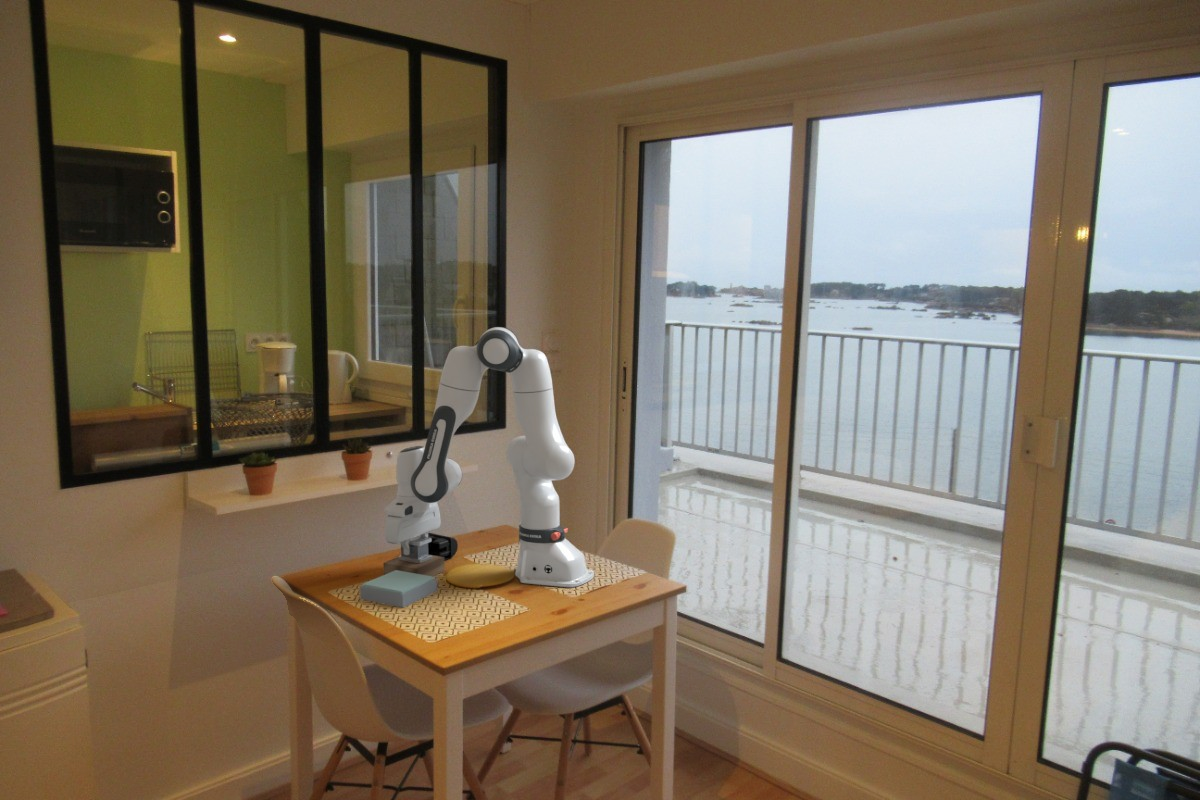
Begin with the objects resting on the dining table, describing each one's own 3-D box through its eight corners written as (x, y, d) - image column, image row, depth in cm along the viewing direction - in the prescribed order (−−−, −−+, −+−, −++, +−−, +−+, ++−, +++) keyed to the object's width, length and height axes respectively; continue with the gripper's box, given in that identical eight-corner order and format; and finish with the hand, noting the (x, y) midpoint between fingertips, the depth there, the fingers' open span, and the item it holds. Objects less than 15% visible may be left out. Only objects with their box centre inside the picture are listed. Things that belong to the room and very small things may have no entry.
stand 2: (437, 591, 226) (437, 576, 225) (402, 607, 213) (402, 592, 213) (396, 583, 232) (395, 569, 232) (360, 599, 220) (359, 584, 219)
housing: (432, 558, 241) (431, 538, 240) (420, 563, 236) (419, 542, 235) (409, 555, 244) (409, 534, 244) (397, 559, 240) (397, 539, 239)
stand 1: (444, 570, 243) (444, 557, 243) (417, 582, 233) (417, 568, 232) (411, 565, 249) (411, 551, 248) (383, 576, 238) (383, 562, 237)
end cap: (458, 557, 257) (458, 535, 256) (441, 563, 251) (441, 540, 250) (435, 552, 262) (434, 530, 262) (417, 557, 256) (417, 535, 256)
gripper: (427, 495, 249) (429, 540, 251) (380, 510, 231) (381, 559, 233) (445, 497, 246) (446, 543, 248) (398, 512, 228) (399, 562, 230)
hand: (414, 551), depth 240 cm, fingers closed on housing, 5 cm apart
